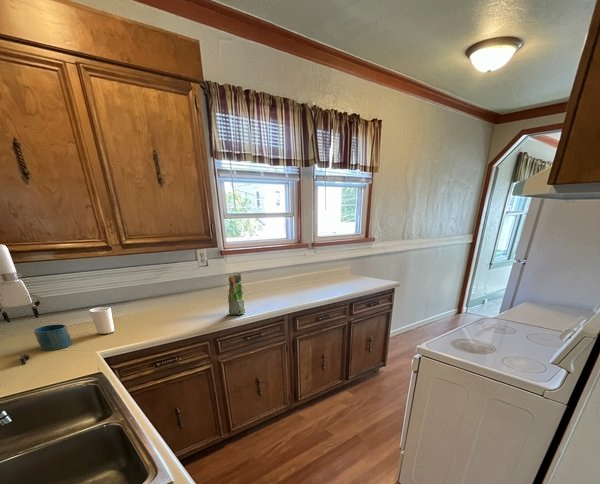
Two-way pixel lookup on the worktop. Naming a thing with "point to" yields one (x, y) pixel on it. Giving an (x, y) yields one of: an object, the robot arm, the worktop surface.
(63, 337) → the crock
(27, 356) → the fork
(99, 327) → the cup
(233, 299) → the pouch
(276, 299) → the worktop surface
